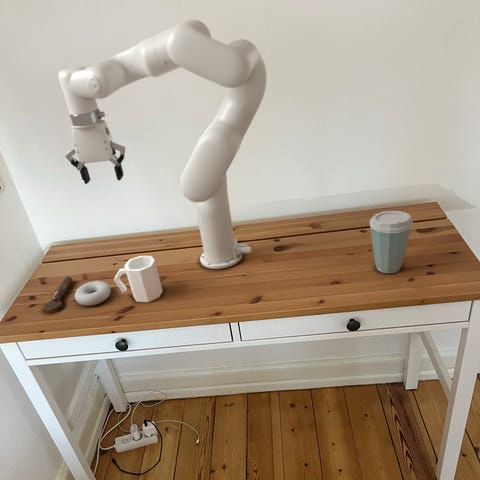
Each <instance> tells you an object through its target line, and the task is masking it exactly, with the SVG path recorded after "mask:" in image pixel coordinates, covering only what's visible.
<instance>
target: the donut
mask: <svg viewBox="0 0 480 480" xmlns="http://www.w3.org/2000/svg"><path fill="white" fill-rule="evenodd" d="M111 292H112V290H111V286H110V285H109V284H108V283H107V282H105V281H102V280H93V281H89V282H86V283H83V284H82V285H80V286H79V287H78V288H77V289H76V290H75V293H74V300H75V302H76V303H78V304H79V305H81V306H85V307H91V306H96V305H99V304H101V303H103V302H105V301H106V300H107V299H108V298H109V297H110V295H111Z"/></svg>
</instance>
